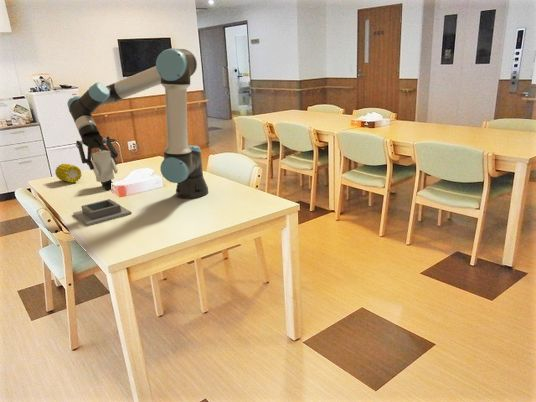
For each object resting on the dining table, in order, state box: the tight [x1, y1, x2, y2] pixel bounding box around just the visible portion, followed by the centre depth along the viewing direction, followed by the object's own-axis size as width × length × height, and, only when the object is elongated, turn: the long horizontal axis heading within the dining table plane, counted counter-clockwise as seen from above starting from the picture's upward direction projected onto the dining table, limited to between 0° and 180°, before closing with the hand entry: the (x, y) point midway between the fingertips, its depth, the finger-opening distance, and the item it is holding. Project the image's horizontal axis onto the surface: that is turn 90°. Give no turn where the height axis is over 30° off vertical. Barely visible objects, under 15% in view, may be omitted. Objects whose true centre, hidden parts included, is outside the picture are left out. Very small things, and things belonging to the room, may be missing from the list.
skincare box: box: [91, 150, 115, 183], centre depth 171 cm, size 6×4×12 cm
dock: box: [72, 199, 132, 227], centre depth 174 cm, size 18×18×4 cm
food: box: [54, 163, 82, 183], centre depth 227 cm, size 15×12×10 cm
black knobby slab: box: [100, 179, 114, 191], centre depth 212 cm, size 4×13×15 cm, turn 33°
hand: (107, 173), depth 169 cm, fingers closed on skincare box, 7 cm apart
